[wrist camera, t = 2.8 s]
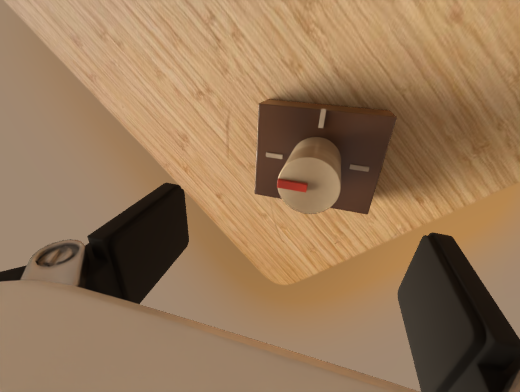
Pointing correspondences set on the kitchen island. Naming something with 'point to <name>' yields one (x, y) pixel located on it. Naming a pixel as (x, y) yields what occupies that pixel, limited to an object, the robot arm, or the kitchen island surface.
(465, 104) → the kitchen island surface
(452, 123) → the kitchen island surface
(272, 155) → the dial panel
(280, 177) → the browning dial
